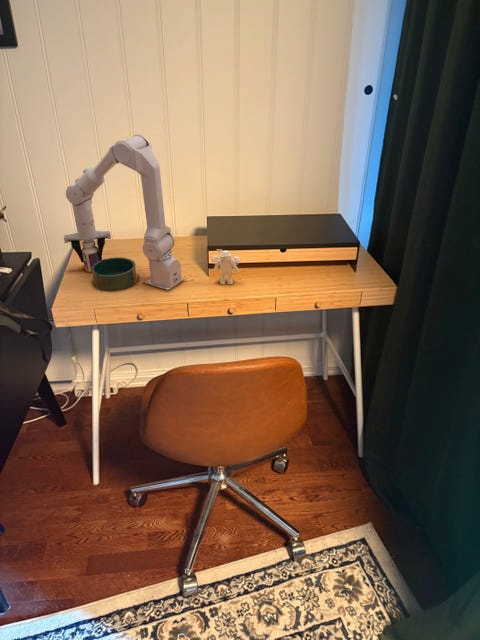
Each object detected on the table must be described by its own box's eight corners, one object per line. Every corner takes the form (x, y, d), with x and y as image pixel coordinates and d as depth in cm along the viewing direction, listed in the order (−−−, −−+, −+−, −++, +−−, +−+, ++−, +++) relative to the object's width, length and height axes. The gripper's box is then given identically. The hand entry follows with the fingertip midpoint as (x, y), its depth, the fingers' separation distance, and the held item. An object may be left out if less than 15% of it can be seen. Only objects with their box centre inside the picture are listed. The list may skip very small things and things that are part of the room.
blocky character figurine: (211, 284, 150) (210, 250, 144) (213, 279, 154) (212, 244, 147) (240, 285, 150) (240, 250, 143) (241, 280, 153) (241, 245, 147)
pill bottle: (103, 265, 162) (99, 238, 157) (98, 272, 158) (93, 245, 152) (88, 264, 163) (83, 238, 157) (82, 271, 158) (77, 244, 153)
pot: (138, 269, 159) (136, 256, 157) (136, 289, 148) (134, 275, 145) (96, 272, 158) (94, 258, 155) (91, 292, 146) (88, 277, 144)
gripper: (108, 215, 156) (113, 253, 163) (61, 218, 153) (69, 257, 160) (108, 222, 150) (114, 261, 157) (60, 226, 147) (68, 266, 154)
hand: (91, 260), depth 158 cm, fingers closed on pill bottle, 5 cm apart
